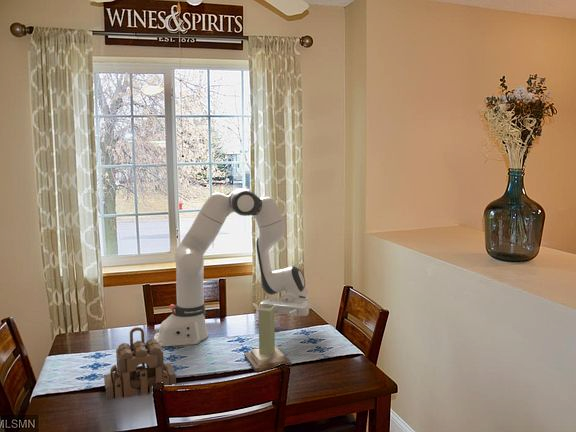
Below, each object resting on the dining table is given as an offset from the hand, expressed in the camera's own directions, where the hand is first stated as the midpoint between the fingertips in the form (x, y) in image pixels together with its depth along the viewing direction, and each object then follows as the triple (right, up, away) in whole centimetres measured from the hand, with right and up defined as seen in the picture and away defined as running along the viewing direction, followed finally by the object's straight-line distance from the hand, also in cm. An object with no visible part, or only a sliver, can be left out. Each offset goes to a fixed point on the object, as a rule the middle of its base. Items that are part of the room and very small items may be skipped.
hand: (278, 313), depth 194 cm
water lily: (-7, -11, +28) cm, 31 cm away
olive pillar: (-4, -13, -10) cm, 16 cm away
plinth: (-4, -16, -9) cm, 19 cm away
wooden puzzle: (-46, -19, -28) cm, 57 cm away
